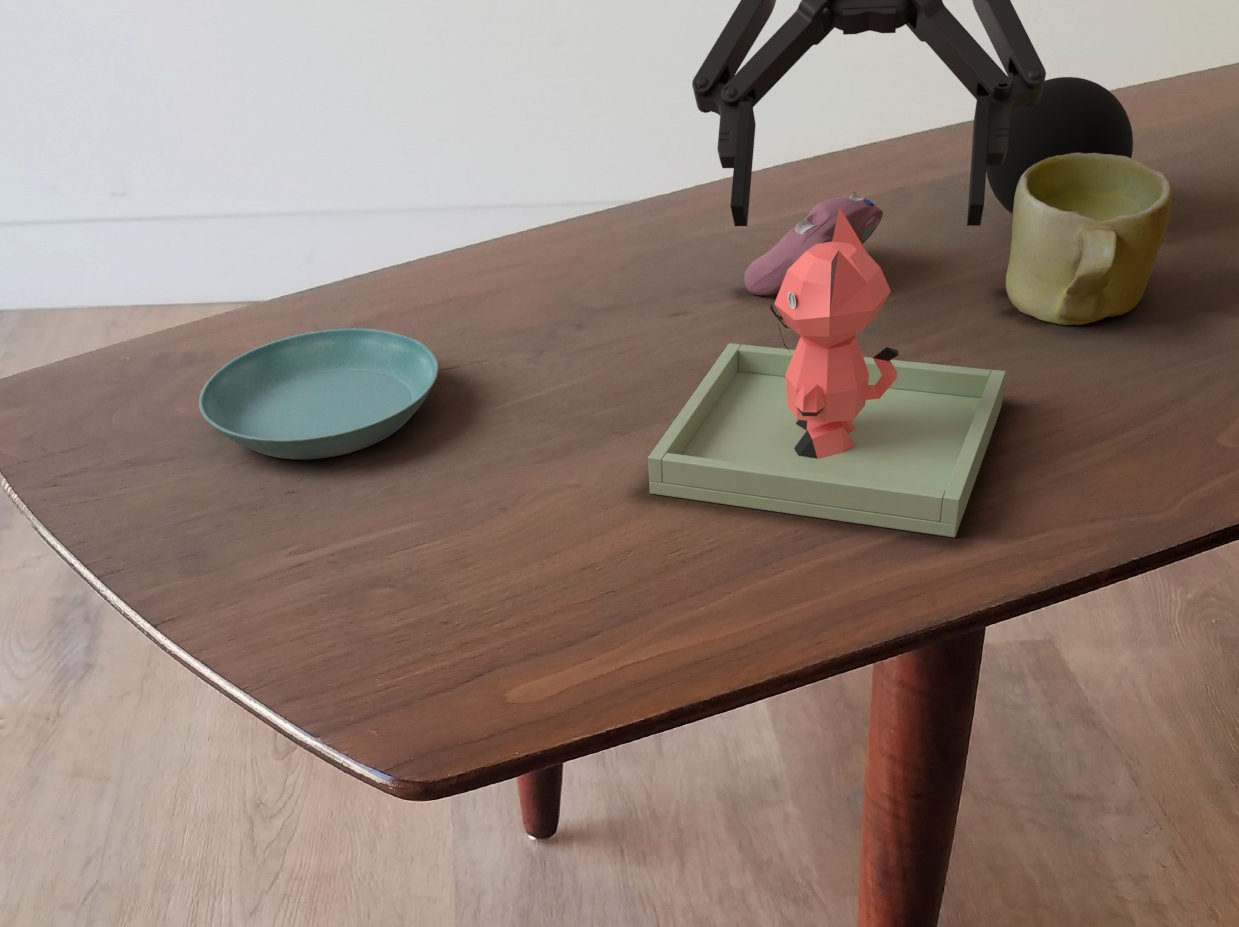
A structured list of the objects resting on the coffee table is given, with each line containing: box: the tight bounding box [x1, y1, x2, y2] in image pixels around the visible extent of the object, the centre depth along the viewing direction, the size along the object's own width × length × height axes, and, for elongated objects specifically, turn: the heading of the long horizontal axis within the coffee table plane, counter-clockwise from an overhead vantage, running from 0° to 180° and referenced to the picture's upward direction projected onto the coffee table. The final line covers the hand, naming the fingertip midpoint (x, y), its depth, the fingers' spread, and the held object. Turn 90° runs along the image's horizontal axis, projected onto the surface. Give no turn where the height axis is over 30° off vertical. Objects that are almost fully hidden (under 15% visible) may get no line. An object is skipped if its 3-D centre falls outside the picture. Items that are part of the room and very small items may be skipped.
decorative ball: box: [986, 76, 1134, 215], centre depth 99 cm, size 10×10×10 cm
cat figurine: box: [769, 207, 900, 459], centre depth 74 cm, size 7×7×12 cm
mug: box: [1005, 153, 1173, 326], centre depth 88 cm, size 12×10×10 cm
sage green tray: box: [647, 342, 1007, 538], centre depth 77 cm, size 17×15×2 cm
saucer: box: [198, 327, 439, 460], centre depth 85 cm, size 15×15×3 cm
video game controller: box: [743, 191, 884, 296], centre depth 95 cm, size 10×5×7 cm, turn 137°
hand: (854, 216), depth 80 cm, fingers open, 13 cm apart
